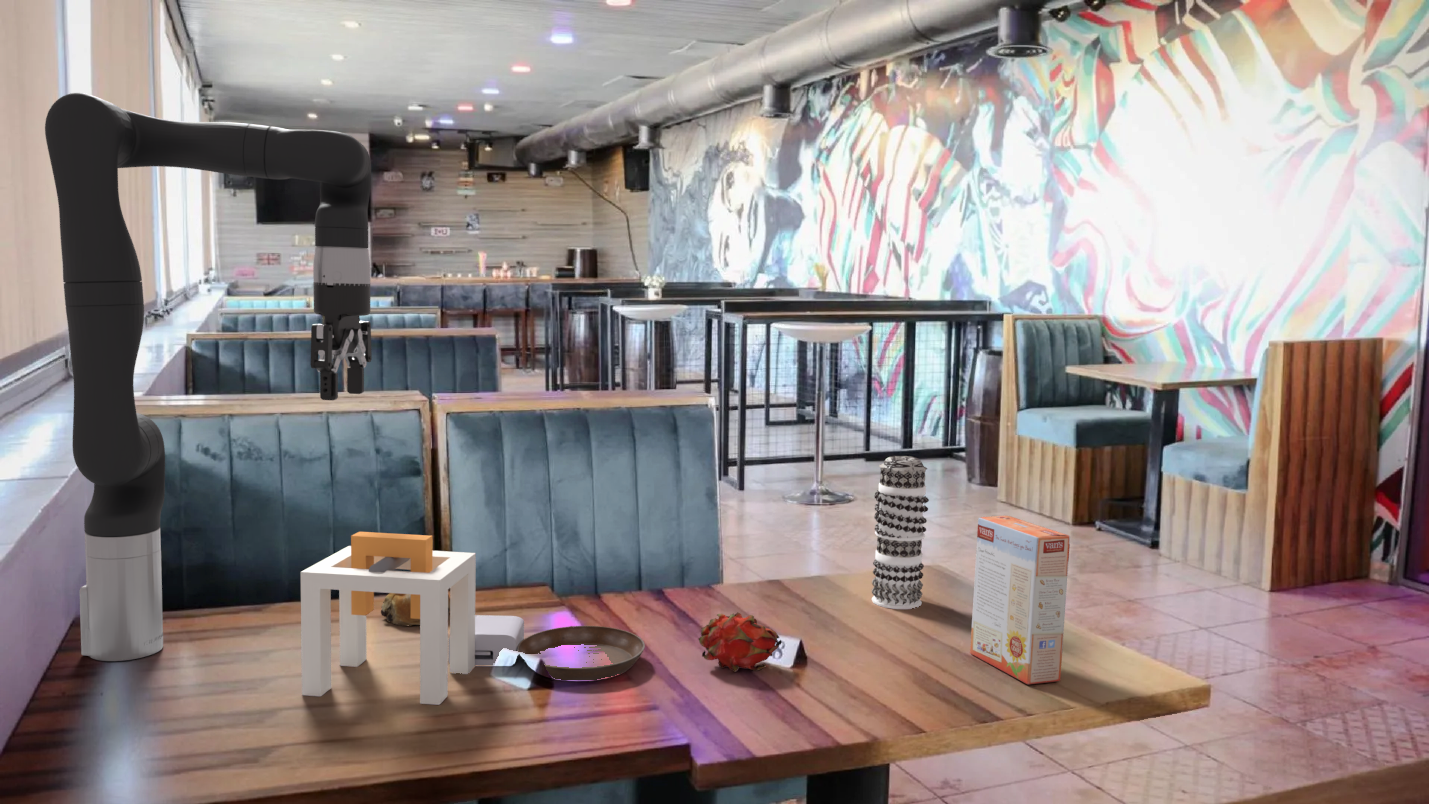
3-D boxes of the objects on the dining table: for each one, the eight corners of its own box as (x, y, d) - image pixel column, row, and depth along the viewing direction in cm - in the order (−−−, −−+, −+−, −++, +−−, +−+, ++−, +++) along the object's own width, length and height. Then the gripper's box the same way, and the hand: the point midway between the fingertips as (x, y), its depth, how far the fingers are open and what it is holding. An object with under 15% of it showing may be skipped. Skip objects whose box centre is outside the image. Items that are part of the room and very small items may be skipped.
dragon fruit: (690, 676, 156) (772, 687, 158) (702, 659, 149) (788, 670, 151) (694, 618, 160) (774, 629, 162) (706, 598, 153) (790, 610, 155)
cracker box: (1063, 682, 154) (1073, 534, 152) (1027, 686, 152) (1036, 536, 149) (1002, 650, 167) (1010, 513, 165) (968, 653, 165) (976, 515, 162)
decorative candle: (868, 607, 187) (875, 460, 184) (870, 592, 196) (876, 452, 193) (923, 611, 185) (931, 464, 182) (922, 596, 194) (930, 455, 192)
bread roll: (428, 651, 169) (451, 606, 169) (367, 621, 169) (390, 575, 168) (444, 631, 179) (466, 588, 178) (387, 602, 179) (408, 559, 178)
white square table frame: (301, 695, 141) (300, 564, 139) (349, 658, 155) (348, 538, 153) (439, 704, 139) (439, 572, 137) (474, 666, 153) (475, 545, 151)
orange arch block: (351, 614, 145) (351, 535, 144) (359, 609, 148) (359, 531, 147) (425, 619, 144) (425, 540, 143) (432, 613, 147) (432, 535, 146)
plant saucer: (519, 691, 145) (519, 669, 145) (515, 647, 162) (515, 627, 162) (653, 685, 149) (653, 663, 148) (635, 642, 166) (635, 622, 166)
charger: (529, 633, 168) (515, 668, 154) (467, 633, 168) (448, 667, 153) (529, 603, 168) (516, 635, 153) (467, 602, 167) (448, 634, 153)
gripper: (338, 280, 162) (339, 390, 163) (291, 279, 148) (292, 401, 149) (388, 281, 161) (388, 393, 163) (345, 281, 147) (346, 403, 149)
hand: (342, 396), depth 156 cm, fingers open, 8 cm apart
